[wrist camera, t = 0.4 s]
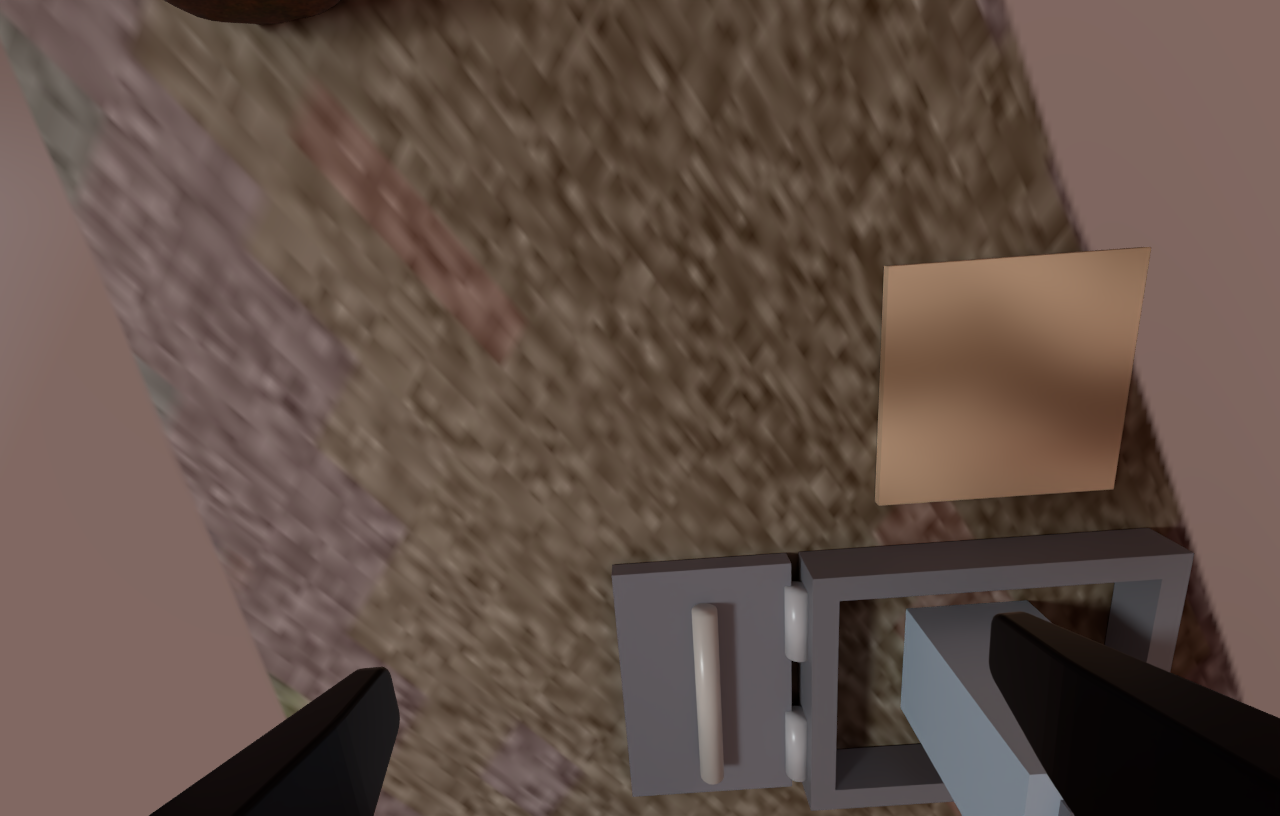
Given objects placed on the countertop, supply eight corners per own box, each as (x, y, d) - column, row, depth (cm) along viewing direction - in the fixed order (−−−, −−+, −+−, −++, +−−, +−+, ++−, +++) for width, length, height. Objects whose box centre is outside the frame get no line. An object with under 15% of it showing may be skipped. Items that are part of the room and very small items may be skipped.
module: (1015, 699, 26) (1187, 907, 18) (900, 707, 26) (1020, 917, 18) (1027, 600, 25) (1218, 775, 17) (906, 608, 25) (1038, 787, 17)
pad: (1105, 485, 23) (1113, 489, 23) (874, 501, 23) (878, 505, 23) (1141, 247, 21) (1151, 247, 20) (884, 266, 21) (889, 266, 20)
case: (1109, 749, 27) (1146, 788, 25) (632, 780, 27) (632, 822, 25) (1148, 527, 24) (1194, 553, 22) (612, 564, 24) (610, 593, 22)
